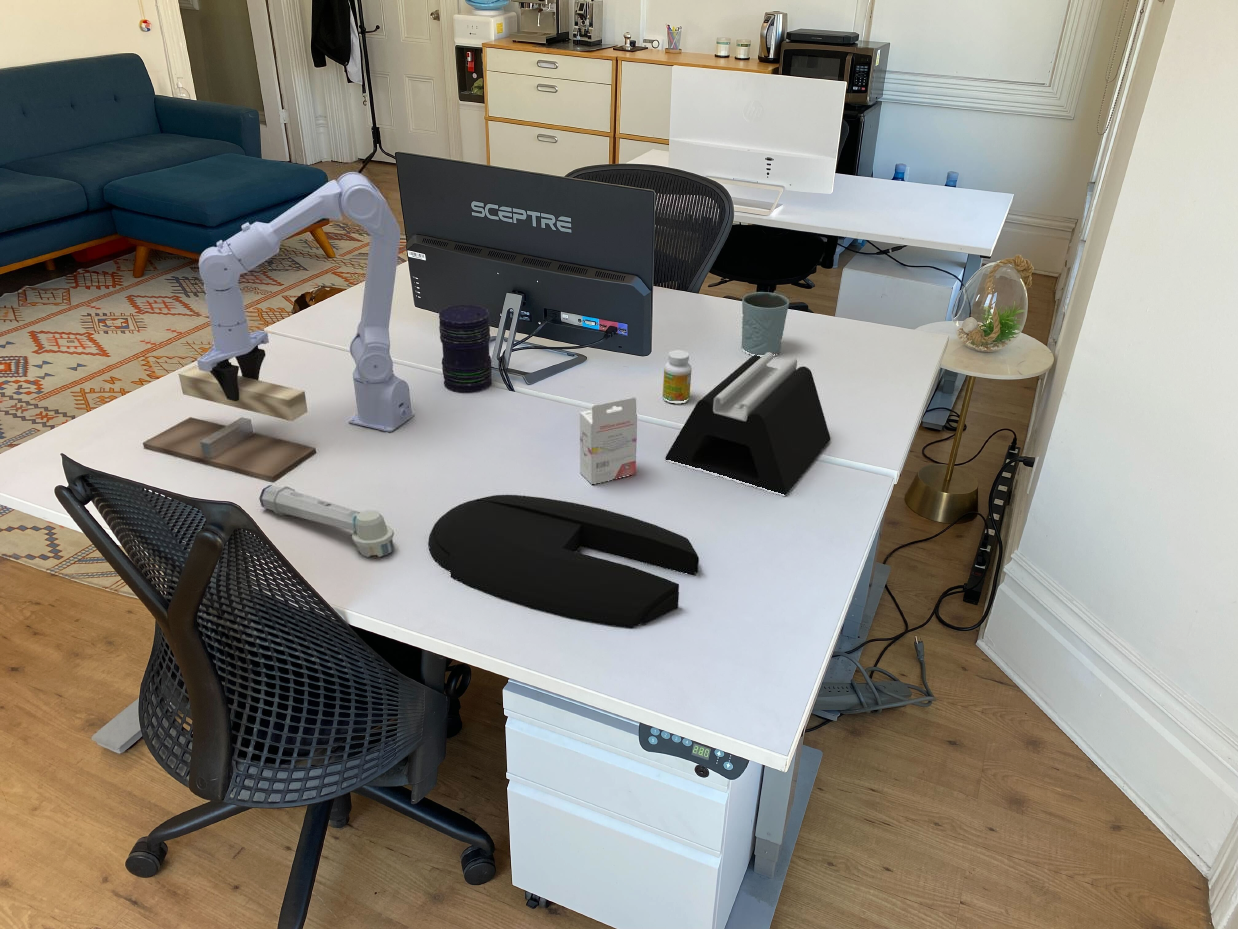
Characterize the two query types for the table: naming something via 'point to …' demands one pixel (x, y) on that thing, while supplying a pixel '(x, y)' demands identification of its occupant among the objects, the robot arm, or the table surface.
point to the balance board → (232, 450)
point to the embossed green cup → (763, 322)
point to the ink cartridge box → (608, 440)
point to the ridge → (226, 438)
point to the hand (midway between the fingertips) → (242, 394)
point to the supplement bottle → (677, 376)
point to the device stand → (756, 426)
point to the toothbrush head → (333, 518)
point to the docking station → (562, 558)
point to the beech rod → (246, 394)
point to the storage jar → (465, 348)
